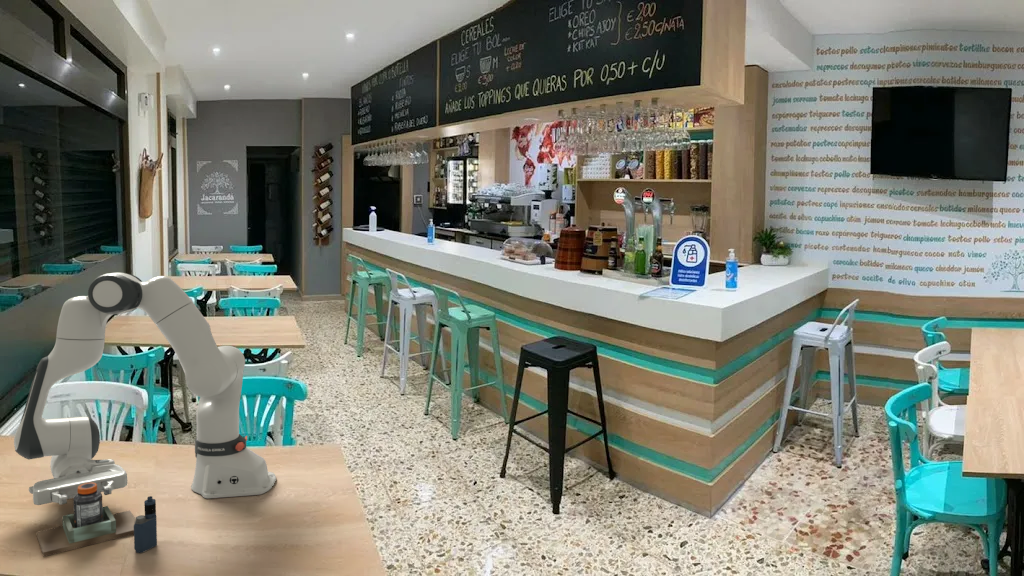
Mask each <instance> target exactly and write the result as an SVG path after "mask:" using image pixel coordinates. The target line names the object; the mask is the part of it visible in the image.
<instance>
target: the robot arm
mask: <svg viewBox="0 0 1024 576" xmlns="http://www.w3.org/2000/svg"><path fill="white" fill-rule="evenodd" d="M137 309H140V310H142V311H143V312H145V313H146V314H147V316H148V317H149V318H150V319H151V320H152V322H153V323H154V324H155V325H156V327H157V328H158V330H159V331H160V333H161V334H162V335H163V336H164V338H165V339H166V341H167V342H168V343H169V345H170V346H171V348H172V349H173V351H174V353H175V354H176V357H177V359H178V361H179V363H180V364H179V365H180V366H181V368H182V370H183V372H184V376H185V384H186V387H187V389H188V390H189V391H190V392H191V393H192V394H193V395H195V396H197V397H199V401H198V405H197V408H196V437H195V440H194V441H195V442H194V454H195V458H196V460H195V461H196V462H195V469H194V475H193V479H192V483H191V486H190V487H191V490H192V491H193V492H194V493H197V494H199V495H201V496H202V497H203V498H204V499H216V498H217V499H218V498H232V497H245V496H246V497H247V496H256V495H257V496H258V495H263V494H265V493H267V492H269V491H270V490H271V489H272V488H273V487H272V486H274V485H275V484H274V483H276V482H277V476H276V474H275V473H274V472H272V471H269V470H268V464H267V462H266V459H265V458H264V457H263V456H261V455H259V454H257V453H256V452H254V451H253V450H251V449H250V448H248V447H247V441H248V435H246V436H242V435H241V434H240V402H241V396H242V387H243V378H244V369H245V365H246V358H245V356H244V353H243V352H242V350H240V349H239V348H238V347H235V346H232V345H221V346H218V345H217V342H216V340H215V338H214V336H213V334H212V333H213V332H212V331H211V326H210V323H209V322H208V321H207V319H206V317H204V315H203V314H202V312H201V311H200V310H199V308H198V307H197V306H196V304H195V303H194V302H193V300H192V299H191V298H190V297H189V295H188V294H187V293H186V292H185V291H184V290H183V288H181V286H180V285H178V283H176V282H175V281H174V280H173V279H172V278H171V277H169V276H165V275H159V276H154V277H151V278H149V279H147V280H145V281H143V280H141V279H140V278H139V277H138V276H136V275H134V274H131V273H126V272H109V273H104V274H101V275H98V276H97V277H96V278H95V279H93V280H92V282H91V283H90V284H89V286H88V291H87V295H78V296H73V297H70V298H69V299H67V300H66V301H65V302H64V303H63V305H62V307H61V310H60V314H59V318H58V321H57V322H58V323H57V328H56V336H55V344H54V347H53V349H52V350H51V351H50V353H49V354H48V355H46V356H45V357H42V358H41V359H40V360H39V363H38V365H37V367H36V369H35V372H34V374H33V378H32V382H31V385H30V388H29V391H28V392H29V393H28V396H27V398H26V399H27V400H26V401H25V402H26V403H25V407H24V408H23V409H24V410H23V413H22V416H21V420H20V422H19V424H18V427H17V429H16V431H15V434H14V438H13V446H14V452H16V453H17V454H18V455H19V456H21V457H22V458H23V459H27V460H35V459H40V458H45V457H51V458H50V463H49V464H50V472H51V476H52V477H53V478H50V479H49V478H48V479H42V480H40V481H36V482H35V483H34V484H33V485H32V486H29V488H28V492H29V494H32V502H33V504H34V505H36V506H43V505H47V504H51V503H56V504H59V505H60V506H63V505H65V504H67V503H68V500H70V499H74V497H75V496H76V495H77V494H78V492H77V491H78V486H79V485H81V484H84V483H96V484H97V491H100V492H101V493H103V495H104V496H108V495H112V491H114V490H118V489H123V488H125V487H127V485H128V473H127V471H126V470H125V469H124V468H123V467H122V466H121V465H119V464H116V463H115V460H114V459H111V458H109V459H108V458H107V459H93V458H94V457H95V456H96V455H97V453H98V452H99V448H100V444H101V435H100V429H99V426H98V424H97V423H96V422H95V420H93V418H91V417H89V416H69V417H59V418H45V417H44V418H43V415H44V410H45V407H46V405H47V400H48V397H49V393H50V390H51V389H52V387H53V386H54V385H55V384H56V383H58V382H59V381H61V380H63V379H65V378H68V377H70V376H74V375H77V374H80V373H83V372H85V371H87V370H89V369H91V368H93V367H94V366H95V365H97V364H98V363H99V361H101V359H102V357H103V353H104V350H105V349H104V348H105V341H106V340H105V339H106V328H107V323H108V320H109V319H110V318H111V317H112V316H115V315H120V314H121V315H122V314H126V313H129V312H133V311H135V310H137ZM275 481H276V482H275Z"/></svg>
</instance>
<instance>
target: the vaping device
mask: <svg viewBox="0 0 1024 576" xmlns="http://www.w3.org/2000/svg"><path fill="white" fill-rule="evenodd" d="M156 501H157V500H156V499H155V498H153V496H152V495H150V496H148V497H147V499H146V500H144V505H143V506H144V514H142V515H141V514H140V515H137V516H136V517H135V519H136V521H135V524H134V534H133V541H134V542H133V546H134V547H133V548H134V551H135V552H136V553H138V554H142V553H145V552H147V551H149V550H152V549H153V548H155V547H156V546H158V534H157V532H158V531H157V525H158V524H157V504H156V503H157V502H156Z"/></svg>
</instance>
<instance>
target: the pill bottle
mask: <svg viewBox="0 0 1024 576" xmlns="http://www.w3.org/2000/svg"><path fill="white" fill-rule="evenodd" d="M77 492H78V494H77V495H76V496H75V497H74V498H72V501H73V503H72V504H73V514H74V525H75V528H78V527H82V526H86V525H91V524H95V523H99V522H103V507H104V506H103V495H102V494H103V493H102V492H100V491H97V484H96V483H84V484H81V485H79V486H78V491H77Z"/></svg>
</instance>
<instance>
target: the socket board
mask: <svg viewBox="0 0 1024 576" xmlns="http://www.w3.org/2000/svg"><path fill="white" fill-rule="evenodd" d="M61 517H62V525H59V526H55V527H51V528H47V529H42V530H38V531H36V537H37V541H38V544H39V547H40V550H41V553H42V557H48V556H51V555H55V554H60V553H63V552H66V551H67V552H68V551H71V550H76V549H79V548H84V547H87V546H88V547H89V546H91V545H95V544H99V543H104V542H107V541H113V540H115V539H119V538H120V539H121V538H123V537H127V536H131V535H134V524H135V521H136V517H135V516H134V515H133V513H132V510H130V509H129V510H125V511H121V512H117V513H112V511H111V509H110V508H109V506H108V505H105V506H103V522H99V523H95V524H91V525H86V526H82V527H78V528H75V525H74V513H69V514H65V515H62V516H61Z"/></svg>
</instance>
